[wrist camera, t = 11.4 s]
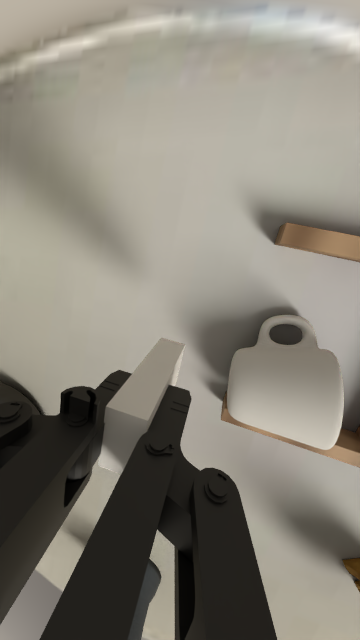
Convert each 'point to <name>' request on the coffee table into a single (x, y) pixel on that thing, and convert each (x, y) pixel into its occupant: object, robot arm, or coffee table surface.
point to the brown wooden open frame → (349, 444)
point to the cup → (288, 387)
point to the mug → (145, 600)
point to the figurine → (353, 569)
